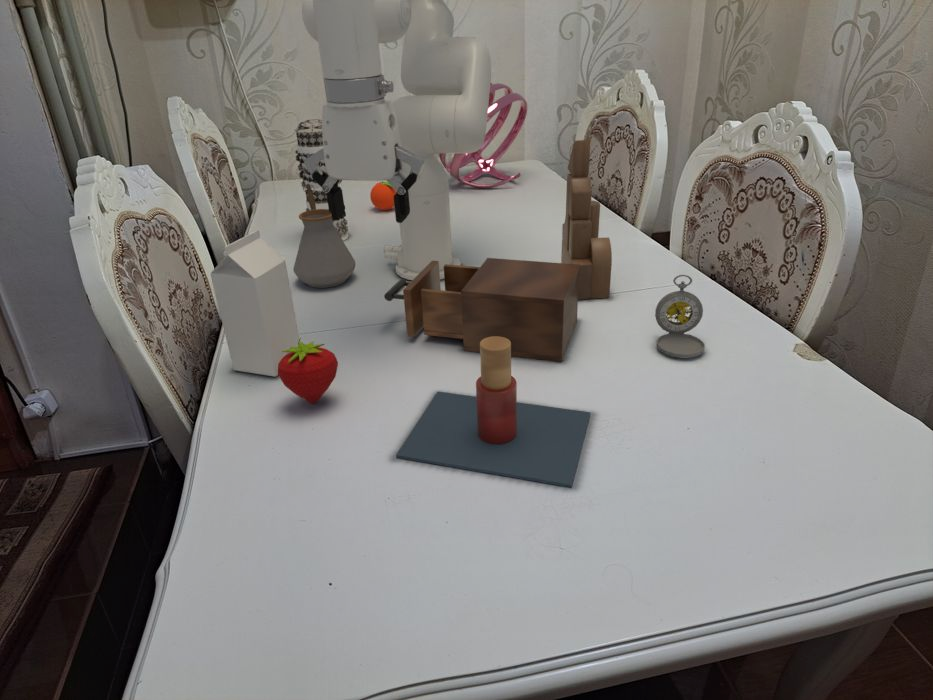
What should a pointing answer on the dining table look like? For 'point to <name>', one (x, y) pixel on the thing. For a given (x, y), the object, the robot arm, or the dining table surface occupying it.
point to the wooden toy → (585, 229)
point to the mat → (525, 457)
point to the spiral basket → (488, 164)
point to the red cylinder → (496, 392)
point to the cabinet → (522, 306)
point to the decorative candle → (307, 146)
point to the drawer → (434, 300)
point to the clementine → (383, 196)
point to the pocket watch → (676, 339)
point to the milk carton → (255, 305)
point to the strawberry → (308, 370)
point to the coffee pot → (321, 249)
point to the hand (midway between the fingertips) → (370, 218)
